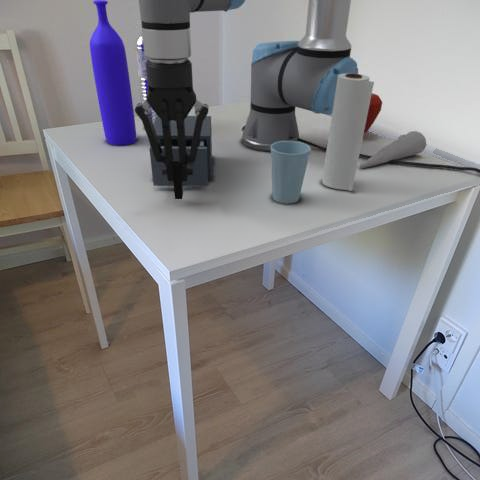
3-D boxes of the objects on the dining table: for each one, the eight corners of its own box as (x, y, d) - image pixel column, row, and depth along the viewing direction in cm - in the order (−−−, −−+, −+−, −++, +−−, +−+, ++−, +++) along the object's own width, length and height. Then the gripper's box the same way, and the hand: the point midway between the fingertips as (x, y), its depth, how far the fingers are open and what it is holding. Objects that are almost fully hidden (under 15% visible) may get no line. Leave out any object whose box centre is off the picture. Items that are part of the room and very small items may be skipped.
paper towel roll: (320, 178, 97) (335, 71, 83) (346, 178, 97) (366, 72, 83) (323, 191, 92) (341, 79, 78) (351, 192, 92) (374, 80, 78)
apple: (381, 140, 119) (392, 92, 111) (346, 142, 116) (355, 94, 109) (363, 128, 127) (372, 83, 119) (330, 130, 124) (337, 84, 117)
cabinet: (211, 180, 95) (210, 135, 88) (154, 180, 94) (149, 135, 88) (211, 157, 106) (211, 116, 99) (161, 156, 105) (156, 115, 99)
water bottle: (156, 123, 126) (146, 20, 110) (173, 128, 123) (165, 23, 107) (139, 128, 121) (126, 22, 105) (156, 133, 119) (145, 25, 102)
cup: (259, 196, 89) (262, 145, 82) (285, 187, 93) (290, 137, 86) (285, 209, 85) (290, 156, 78) (311, 199, 88) (318, 148, 82)
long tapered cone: (382, 158, 96) (427, 132, 105) (359, 153, 100) (404, 129, 109) (380, 182, 100) (424, 156, 109) (358, 177, 104) (401, 152, 113)
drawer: (207, 196, 86) (206, 157, 81) (150, 195, 86) (146, 157, 81) (208, 162, 100) (208, 128, 95) (160, 162, 100) (156, 127, 95)
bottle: (130, 147, 110) (109, 2, 90) (100, 144, 111) (73, 1, 91) (142, 137, 116) (125, 0, 96) (113, 134, 117) (91, -2, 98)
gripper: (208, 55, 72) (211, 188, 88) (131, 54, 72) (148, 188, 87) (208, 64, 67) (211, 204, 82) (124, 62, 66) (143, 204, 81)
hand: (179, 196), depth 84 cm, fingers closed
